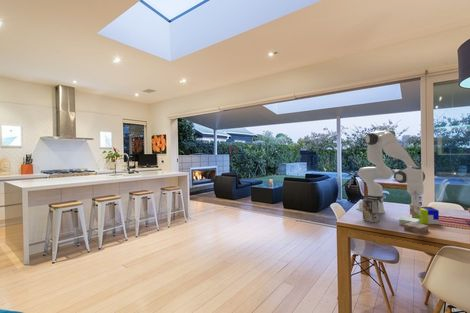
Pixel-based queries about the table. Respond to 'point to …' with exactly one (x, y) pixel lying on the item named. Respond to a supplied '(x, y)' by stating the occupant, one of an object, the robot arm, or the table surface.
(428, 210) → the puzzle toy
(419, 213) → the oak block
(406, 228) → the walnut block
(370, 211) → the coffee box
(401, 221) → the sage block
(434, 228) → the table surface
